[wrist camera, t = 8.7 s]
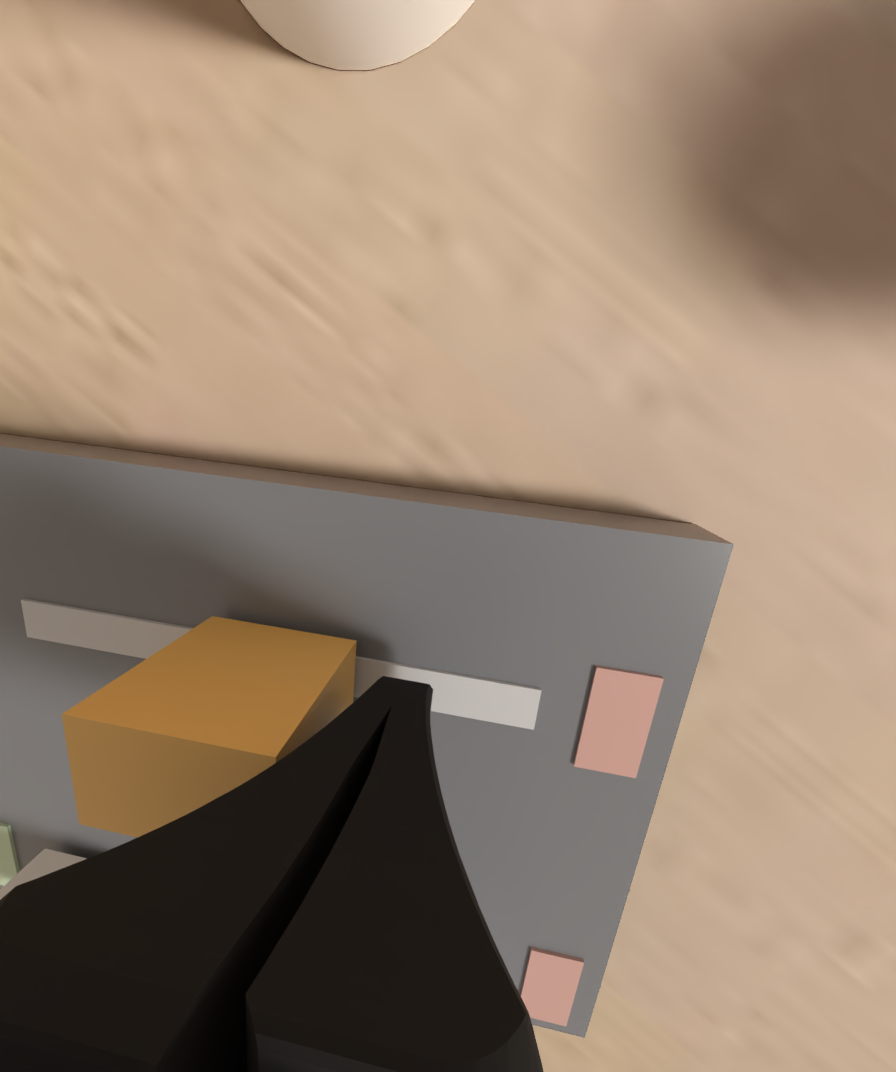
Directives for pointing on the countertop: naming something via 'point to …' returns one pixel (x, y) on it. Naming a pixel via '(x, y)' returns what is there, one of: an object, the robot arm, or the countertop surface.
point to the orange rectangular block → (201, 720)
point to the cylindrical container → (356, 28)
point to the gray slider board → (377, 658)
